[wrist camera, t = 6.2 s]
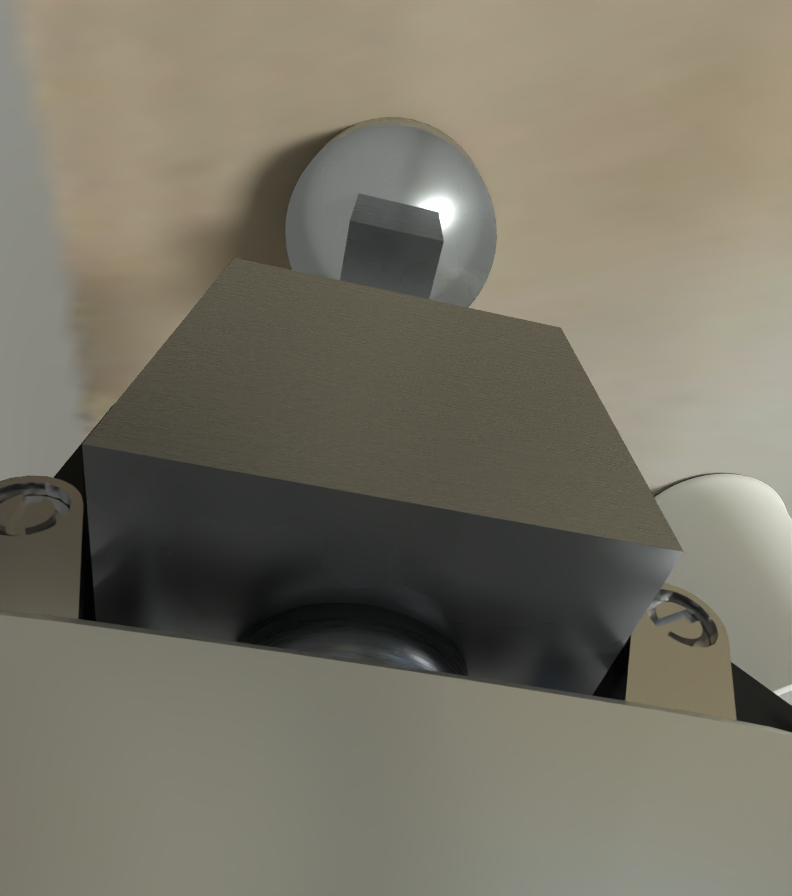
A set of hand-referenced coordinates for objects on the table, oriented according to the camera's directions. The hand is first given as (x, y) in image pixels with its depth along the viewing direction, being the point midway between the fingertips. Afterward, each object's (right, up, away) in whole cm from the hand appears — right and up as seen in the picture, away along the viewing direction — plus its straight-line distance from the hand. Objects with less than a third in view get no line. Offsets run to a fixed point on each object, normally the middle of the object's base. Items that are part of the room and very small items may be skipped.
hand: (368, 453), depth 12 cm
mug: (+19, -5, +23) cm, 30 cm away
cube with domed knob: (0, 0, +1) cm, 1 cm away
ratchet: (-1, +3, +18) cm, 18 cm away
